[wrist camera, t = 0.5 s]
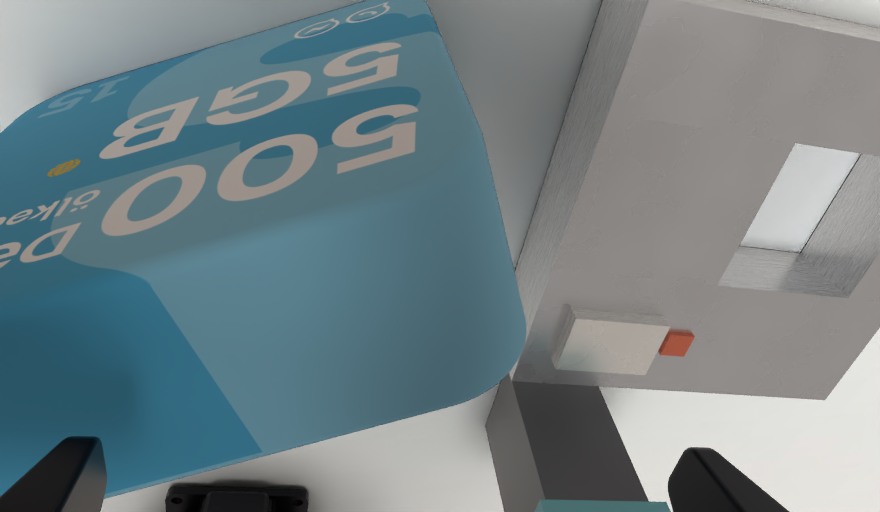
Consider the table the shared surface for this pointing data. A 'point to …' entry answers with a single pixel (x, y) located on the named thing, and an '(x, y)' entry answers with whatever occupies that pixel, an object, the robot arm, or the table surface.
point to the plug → (561, 451)
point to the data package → (250, 250)
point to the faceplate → (704, 205)
